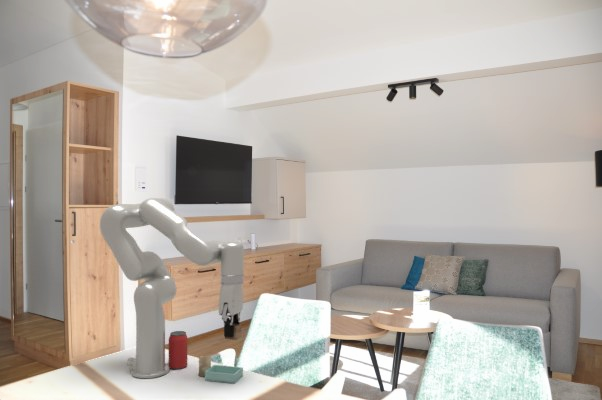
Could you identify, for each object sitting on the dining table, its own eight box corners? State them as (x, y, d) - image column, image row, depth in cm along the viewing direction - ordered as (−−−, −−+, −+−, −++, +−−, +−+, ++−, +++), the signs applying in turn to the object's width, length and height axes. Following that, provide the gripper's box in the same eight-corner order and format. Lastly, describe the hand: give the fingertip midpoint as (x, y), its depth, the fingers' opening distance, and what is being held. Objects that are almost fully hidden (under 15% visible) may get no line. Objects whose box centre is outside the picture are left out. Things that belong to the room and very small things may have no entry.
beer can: (182, 370, 170) (182, 335, 170) (165, 369, 171) (165, 334, 171) (190, 364, 176) (190, 331, 176) (173, 363, 178) (173, 330, 178)
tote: (204, 380, 160) (204, 371, 160) (214, 373, 167) (214, 364, 167) (234, 383, 157) (234, 374, 157) (242, 376, 164) (242, 367, 164)
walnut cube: (224, 338, 160) (225, 326, 160) (229, 335, 164) (230, 323, 164) (236, 339, 159) (236, 327, 159) (240, 336, 163) (241, 324, 163)
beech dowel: (196, 376, 164) (196, 358, 164) (202, 372, 168) (202, 354, 168) (207, 377, 163) (207, 359, 163) (212, 373, 167) (212, 355, 167)
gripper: (231, 275, 171) (231, 328, 171) (210, 283, 155) (210, 340, 154) (251, 276, 169) (251, 329, 169) (232, 284, 153) (232, 342, 152)
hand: (231, 334), depth 161 cm, fingers closed on walnut cube, 4 cm apart
